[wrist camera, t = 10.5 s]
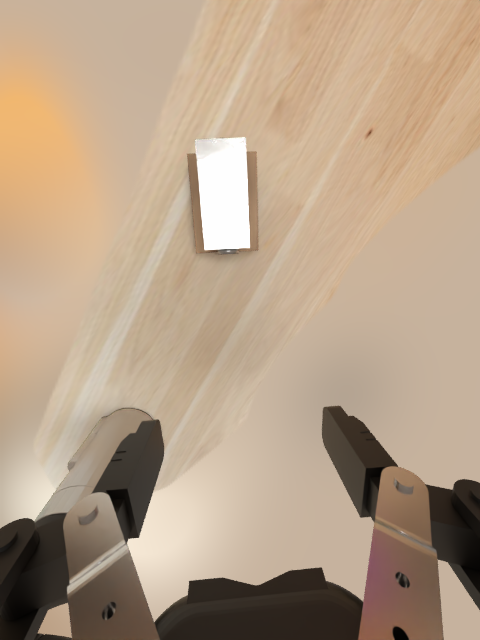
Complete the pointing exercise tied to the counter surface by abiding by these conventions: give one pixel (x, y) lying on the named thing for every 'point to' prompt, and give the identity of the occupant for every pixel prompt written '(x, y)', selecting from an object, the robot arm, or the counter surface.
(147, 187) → the counter surface
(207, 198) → the block
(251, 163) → the stand
